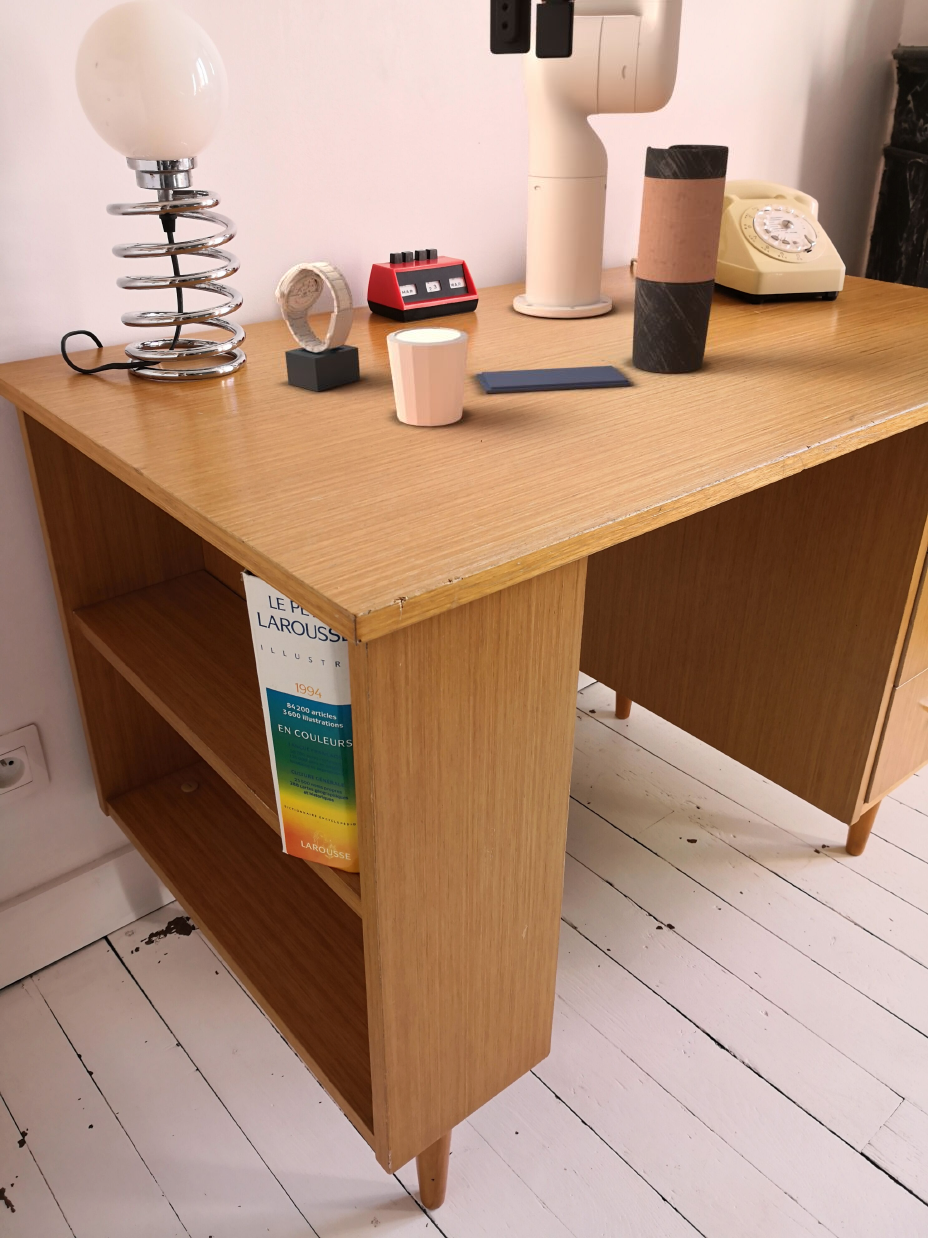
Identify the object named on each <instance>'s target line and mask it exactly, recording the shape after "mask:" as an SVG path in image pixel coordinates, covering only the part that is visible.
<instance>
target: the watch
mask: <svg viewBox="0 0 928 1238" xmlns="http://www.w3.org/2000/svg"><path fill="white" fill-rule="evenodd" d="M324 281H325V282H324ZM325 284H326V285H327V287H328V288H329V290H330V294H331V296H332V298H333V312H332V313H331V316H330V321H329V326H328V330H327V333H326V335H325V338H324V341H322V340H321V339H320V338H318V337H317V335H316V334H315V332H314V331H313V330H312V327H311V325H310V322H308V321H309V320H308V317H309V316H310V315H311V313H312V310H313V307H314V305H315V304H316V303H317V301H318V300H319V298H320V297H321V295H322V293H323V290H324V287H325V286H324V285H325ZM351 291H352V290H351V288H350V285H349V283H348V280H347V279H346V276H344V274H343V272H342V271H341V270H340V269H339V268H338V267H337V266H336V265H334V264H332V263H330V262H328V261H318V262H313V263H308V262H303V263H299V264H296V265H295V266H293V267H291V268H290V269H289V270H288V271H287V272H286V273H285V274H284V275H283V276H282V277H281V278H280V280H279V282H278V284H277V287H276V290H275V292H274V295H275V300H276V302H277V304H278V305H279V309H280V312H281V317H282V319H283V320H284V321H285V322H286V325H287V327H288V330H289V332H290V333H291V335H292V336H293V339H294V340H295V341H296V342H297V343H298V344H299V346H300V347H298V348H295V349H291V350H290V349H289V350H285V352H284V353H285V363H286V375H287V383H288V385H291V386H295V387H299V388H303V389H306V390H310V391H314V392H316V393H318V392H321V391H325V390H329V389H332V388H335V387H339V386H342V385H347V384H350V383H354V382H356V381H361V371H360V355H359V354H360V353H359V347H358V346H357V347H356V346H352V345H349V344H346V343H347V340H348V338H349V336H350V333H351V331H352V326H353V322H354V318H355V317H354V316H355V309H354V299H353V295H352V292H351Z"/></svg>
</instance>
